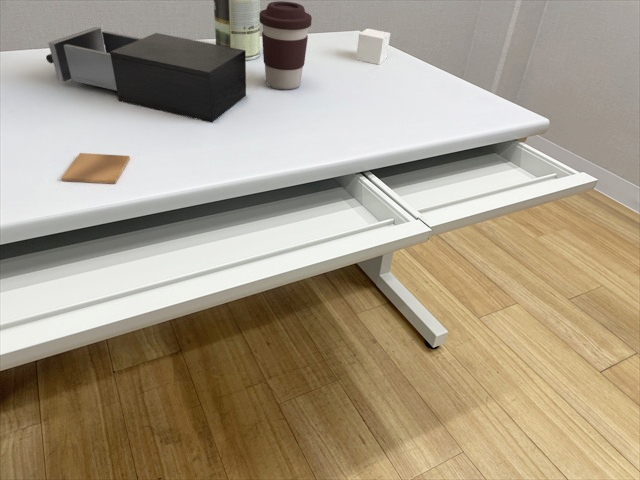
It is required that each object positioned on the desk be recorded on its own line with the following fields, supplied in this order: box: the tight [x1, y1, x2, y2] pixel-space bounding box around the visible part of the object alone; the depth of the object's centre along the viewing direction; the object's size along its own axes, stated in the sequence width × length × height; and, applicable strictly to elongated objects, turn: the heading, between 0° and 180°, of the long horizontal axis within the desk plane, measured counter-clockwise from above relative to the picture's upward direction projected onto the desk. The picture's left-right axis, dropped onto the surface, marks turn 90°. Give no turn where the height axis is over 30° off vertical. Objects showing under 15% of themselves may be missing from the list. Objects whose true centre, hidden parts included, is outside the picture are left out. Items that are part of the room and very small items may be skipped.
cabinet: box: [110, 32, 247, 123], centre depth 85 cm, size 19×14×9 cm
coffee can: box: [213, 0, 261, 62], centre depth 106 cm, size 10×10×14 cm
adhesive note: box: [355, 27, 391, 66], centre depth 114 cm, size 6×6×6 cm
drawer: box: [45, 26, 143, 92], centre depth 89 cm, size 22×12×7 cm, turn 72°
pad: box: [60, 152, 131, 185], centre depth 66 cm, size 7×7×1 cm
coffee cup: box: [259, 0, 313, 91], centre depth 93 cm, size 10×10×15 cm
